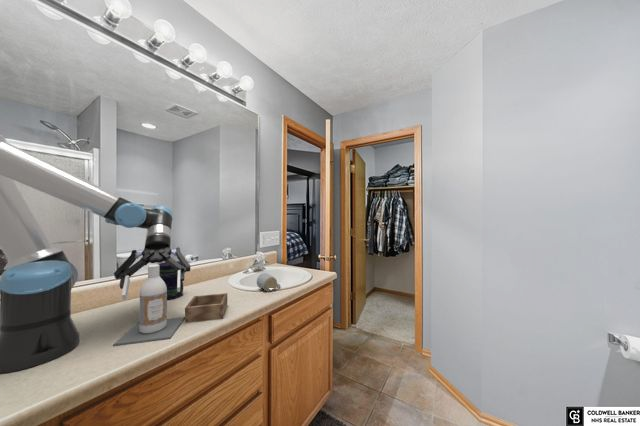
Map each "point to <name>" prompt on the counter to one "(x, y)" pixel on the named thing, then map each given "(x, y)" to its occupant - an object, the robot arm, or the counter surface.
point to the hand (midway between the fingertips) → (152, 293)
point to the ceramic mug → (267, 282)
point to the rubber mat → (138, 337)
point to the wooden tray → (206, 308)
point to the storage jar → (170, 280)
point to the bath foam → (153, 302)
